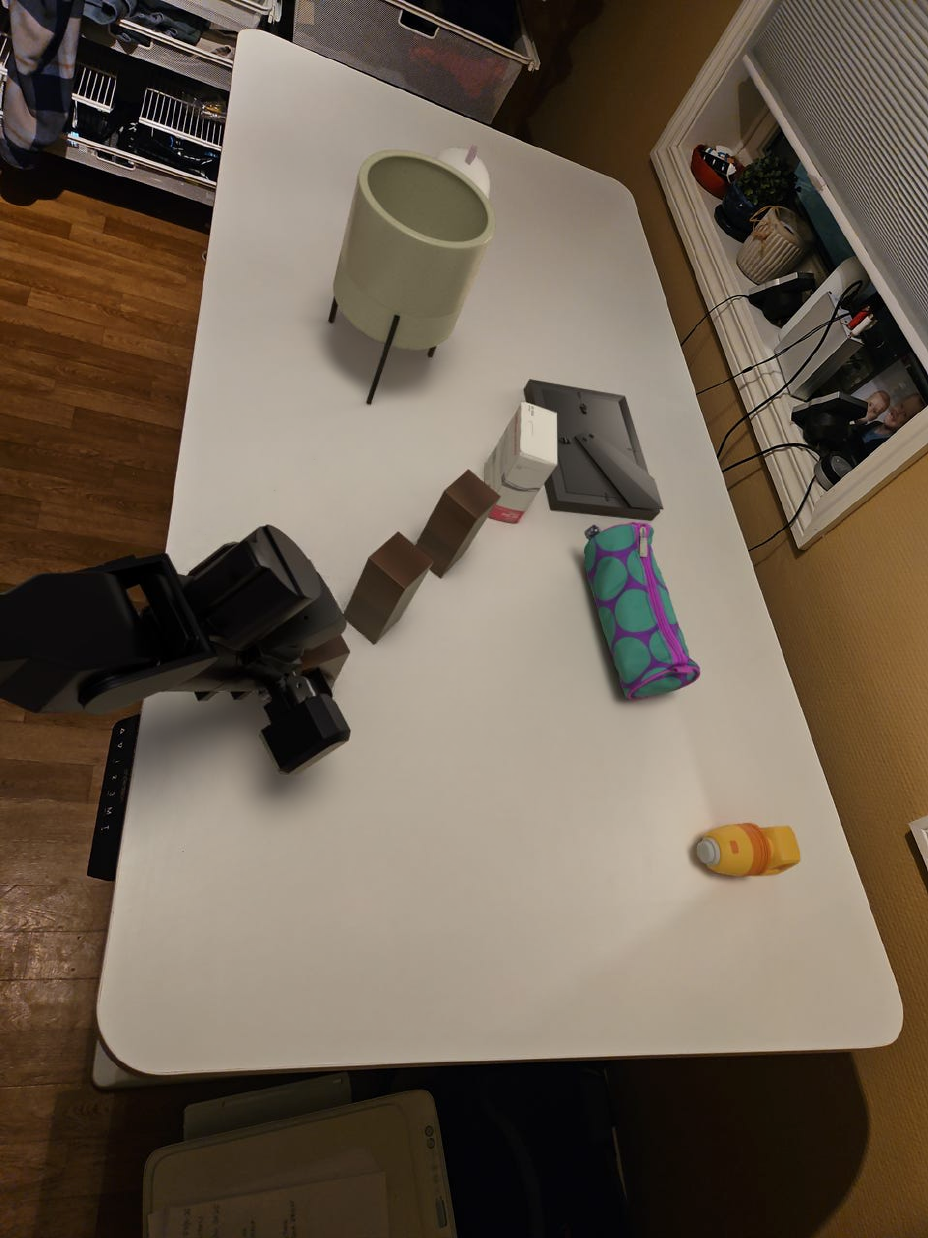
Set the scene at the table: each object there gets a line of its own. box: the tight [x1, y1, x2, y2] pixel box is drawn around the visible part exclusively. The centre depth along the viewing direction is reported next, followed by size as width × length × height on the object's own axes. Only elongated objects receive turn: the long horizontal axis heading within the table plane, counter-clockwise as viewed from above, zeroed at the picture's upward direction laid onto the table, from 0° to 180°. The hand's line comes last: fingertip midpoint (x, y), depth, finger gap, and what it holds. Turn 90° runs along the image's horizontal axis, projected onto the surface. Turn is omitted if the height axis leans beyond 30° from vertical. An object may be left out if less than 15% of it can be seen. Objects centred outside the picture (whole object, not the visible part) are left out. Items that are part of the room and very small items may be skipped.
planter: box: [327, 149, 497, 405], centre depth 85 cm, size 15×16×23 cm
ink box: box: [483, 401, 557, 524], centre depth 87 cm, size 9×5×12 cm, turn 176°
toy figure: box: [696, 822, 801, 877], centre depth 77 cm, size 5×6×12 cm
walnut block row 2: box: [414, 469, 501, 579], centre depth 79 cm, size 4×4×12 cm
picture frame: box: [523, 378, 665, 521], centre depth 99 cm, size 16×3×21 cm
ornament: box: [432, 144, 491, 199], centre depth 110 cm, size 10×10×12 cm
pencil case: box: [583, 521, 701, 700], centre depth 84 cm, size 21×9×10 cm, turn 11°
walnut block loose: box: [285, 634, 351, 690], centre depth 65 cm, size 4×4×12 cm
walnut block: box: [343, 530, 434, 645], centre depth 72 cm, size 4×4×12 cm
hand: (318, 659), depth 65 cm, fingers closed on walnut block loose, 4 cm apart
